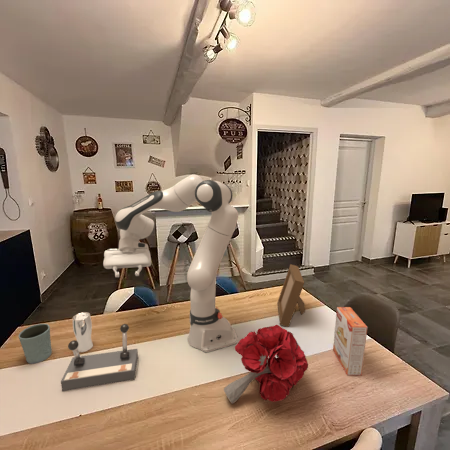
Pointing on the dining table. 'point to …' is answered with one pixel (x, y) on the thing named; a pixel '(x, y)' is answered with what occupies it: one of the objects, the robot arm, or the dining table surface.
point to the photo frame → (290, 296)
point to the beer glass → (83, 331)
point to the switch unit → (100, 370)
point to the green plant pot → (36, 343)
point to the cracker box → (349, 340)
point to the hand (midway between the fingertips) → (127, 276)
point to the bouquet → (269, 363)
